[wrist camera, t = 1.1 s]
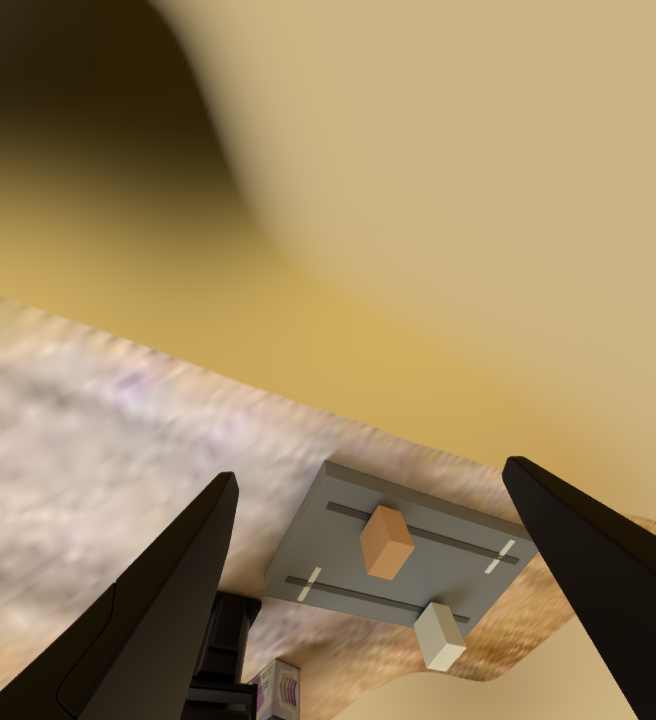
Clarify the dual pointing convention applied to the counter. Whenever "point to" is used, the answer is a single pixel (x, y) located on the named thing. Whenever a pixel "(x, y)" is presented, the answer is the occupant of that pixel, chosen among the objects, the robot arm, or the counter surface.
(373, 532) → the copper slider
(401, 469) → the counter surface
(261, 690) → the striped narrow carton
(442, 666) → the cream slider
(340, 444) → the counter surface
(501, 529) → the panel
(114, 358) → the counter surface
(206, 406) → the counter surface
